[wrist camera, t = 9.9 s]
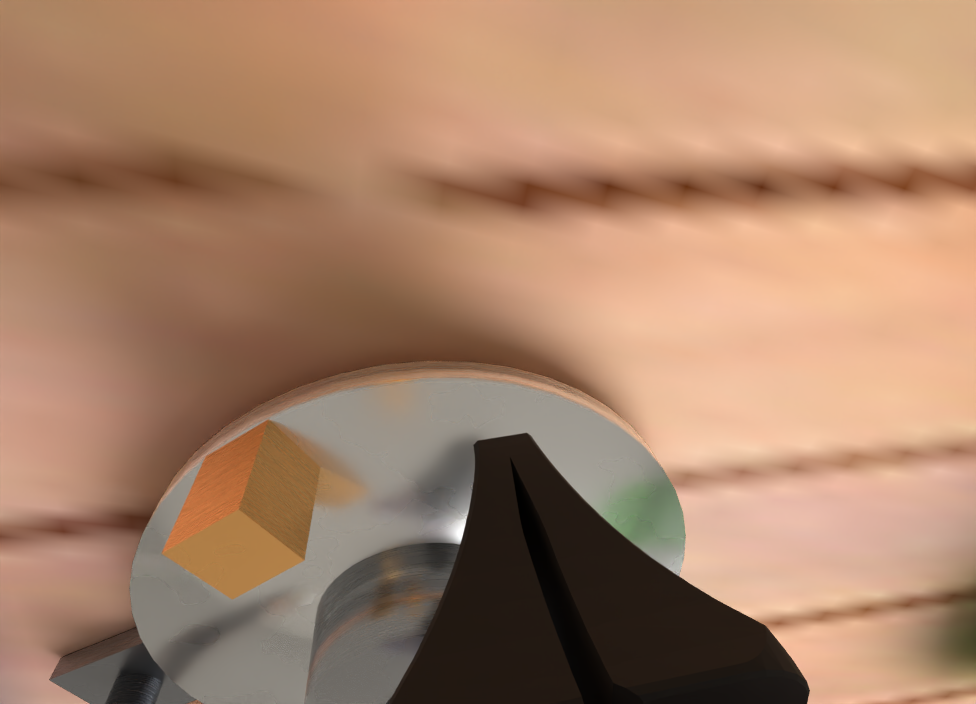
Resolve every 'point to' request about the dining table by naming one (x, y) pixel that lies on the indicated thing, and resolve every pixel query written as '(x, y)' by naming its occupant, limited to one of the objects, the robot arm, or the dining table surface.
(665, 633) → the robot arm
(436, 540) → the disc
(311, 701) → the cover
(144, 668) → the dial stand
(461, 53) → the dining table surface
